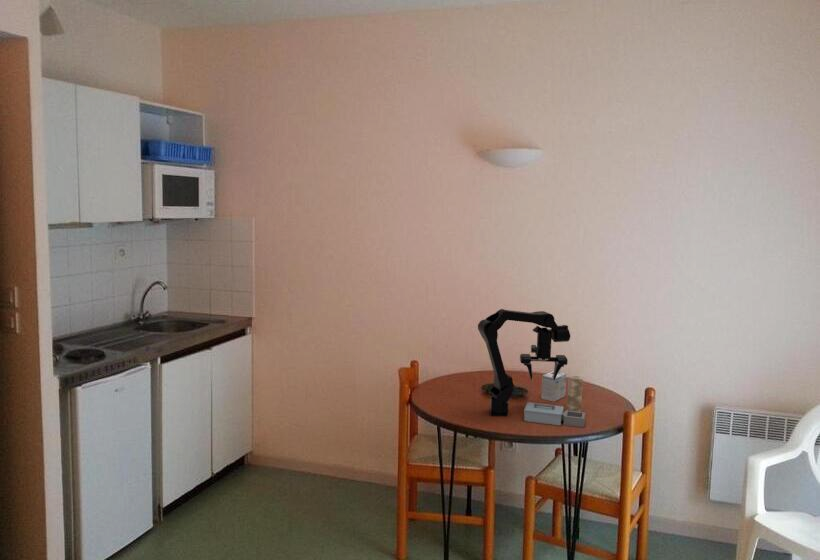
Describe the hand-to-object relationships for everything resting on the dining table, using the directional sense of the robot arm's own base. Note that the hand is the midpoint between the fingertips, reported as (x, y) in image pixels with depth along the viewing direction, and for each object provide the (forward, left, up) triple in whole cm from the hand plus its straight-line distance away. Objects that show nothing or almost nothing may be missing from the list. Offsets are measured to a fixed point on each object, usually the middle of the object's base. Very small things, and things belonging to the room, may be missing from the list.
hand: (542, 379), depth 270 cm
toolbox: (+4, -12, -13) cm, 18 cm away
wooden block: (+13, -2, -13) cm, 19 cm away
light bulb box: (+8, +18, -13) cm, 24 cm away
